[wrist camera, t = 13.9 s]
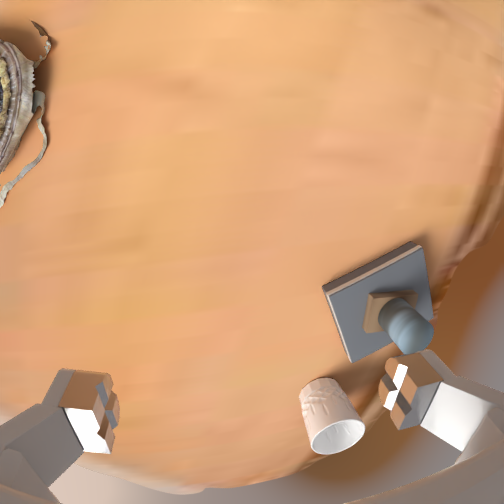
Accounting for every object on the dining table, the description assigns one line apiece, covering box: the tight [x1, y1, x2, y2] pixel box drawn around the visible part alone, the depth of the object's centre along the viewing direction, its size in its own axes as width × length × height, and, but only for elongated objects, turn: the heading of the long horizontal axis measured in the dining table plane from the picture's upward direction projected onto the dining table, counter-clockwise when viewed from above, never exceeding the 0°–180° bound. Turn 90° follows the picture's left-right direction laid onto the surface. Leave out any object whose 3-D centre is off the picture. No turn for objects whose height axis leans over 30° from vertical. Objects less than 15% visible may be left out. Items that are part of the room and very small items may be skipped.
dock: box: [322, 242, 433, 363], centre depth 41 cm, size 14×12×3 cm
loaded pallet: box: [362, 290, 434, 355], centre depth 36 cm, size 7×5×8 cm
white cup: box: [299, 377, 365, 454], centre depth 42 cm, size 8×8×10 cm
